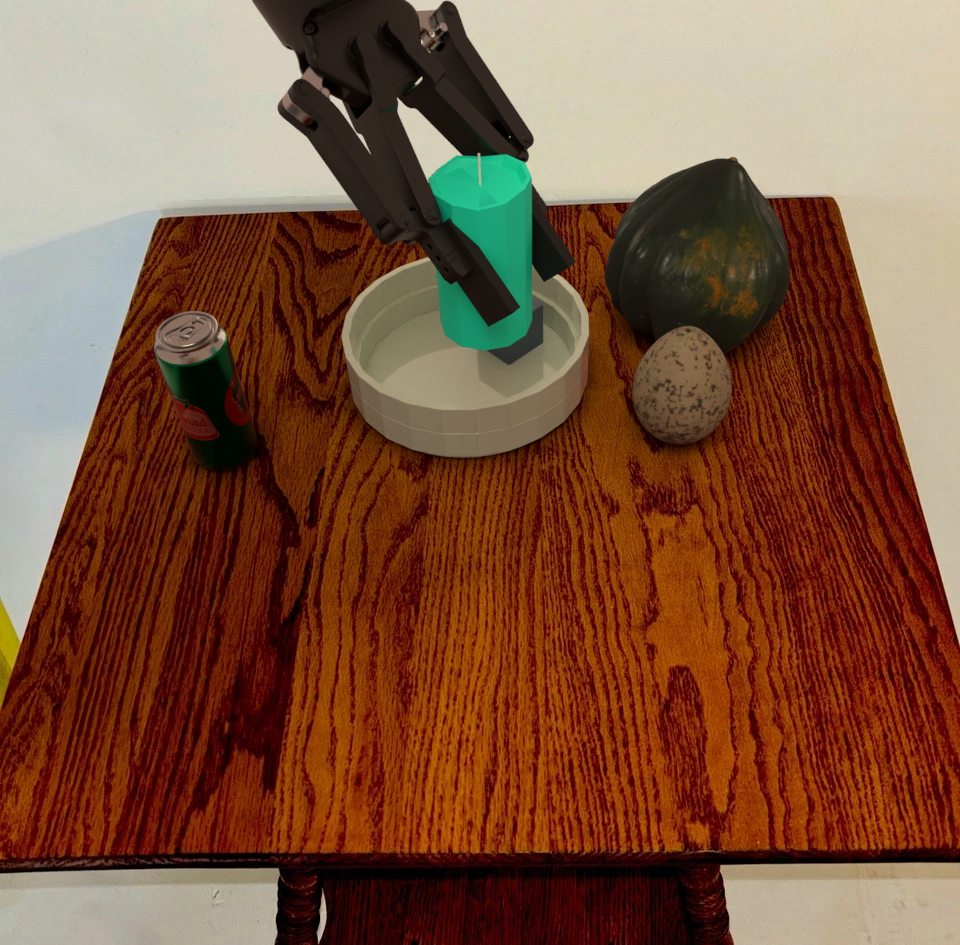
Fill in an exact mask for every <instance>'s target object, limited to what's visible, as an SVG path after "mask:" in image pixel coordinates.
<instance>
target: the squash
mask: <svg viewBox="0 0 960 945" xmlns="http://www.w3.org/2000/svg"><path fill="white" fill-rule="evenodd" d="M603 277H604V282H605V286H606V288H607V290H608V292H609V294H610V299H611V300H610V301H611V304H612V306H613V308H614V309H615V310H616V311H617V312H618V313H619V314H620V315H622V316H623V317H624V318H625V320H626V322H627V323H628V324H629V325H630V326H631V327H632V328H633V329H635V330H637V331H638V332H641V333H642V334H643V333H644V334H653V337H654V340H655V342H656V341H657V340H658V339H659V338H661V337H662V336H664V335H665V334H666V333H668V332H670V331H672V330H674V329H676V328H679V327H682V326H693V327H697V328H699V329H700V330H702V331H704V332H705V333H706V334H708V335H709V336H710V337H711V338H712V339H713V340H714V341H715V343H716V344H717V345H718V346H719V348H720V349H721V351H722V352H723V354H724V355H725V354H727V353H729V352H730V351H733V350H735V349H736V348H737V347H738V346H740V345H741V344H742V343H744V342H745V340H747V339H748V338H749V337H750V336H751V335H752V333H754V332H757V331H759V330H760V329H762V328H764V327H765V326H766V325H768V324H769V323H770V322H771V321H772V320H773V319H774V317H775V316H776V315H777V314H778V312H779V311H780V310H781V308H782V306H783V305H784V302H785V299H786V297H787V294H788V289H789V285H790V277H791V266H790V260H789V248H788V242H787V238H786V236H785V232H784V229H783V227H782V224H781V221H780V219H779V217H778V216H777V214H776V212H775V210H774V209H773V207H772V205H771V204H770V203H769V201H768V199H767V198H766V197H765V196H764V195H763V193H762V192H761V191H760V189H759V188H758V186H757V185H756V183H755V182H754V181H753V179H752V177H751V176H750V175H749V173H748V171H747V170H746V169H745V167H744V166H743V165H742V164H741V163H740V162H739V159H738V158H737V157H735V156H731V157H729V158H726V157H725V158H723V157H722V158H713V159H710V160H709V159H708V160H706V161H703V162H700V163H698V164H695V165H692V166H689V167H687V168H684V169H682V170H679V171H675V172H674V173H671V174H670V175H667V176H666V177H663V178H662V179H661V180H659V181H658V182H656V183H654V184H652V185H651V186H649V187H648V188H647V189H646V190H644V191H643V192H642V193H641V194H640V195H639V196H638V197H636V199H634V201H632V203H631V204H630V205H629V206H628V207H627V209H626V210H625V211H624V213H623V214H622V216H621V217H620V220H619V222H618V224H617V227H616V230H615V233H614V240H613V242H612V243H611V246H610V249H609V252H608V256H607V260H606V265H605V269H604V276H603Z"/></svg>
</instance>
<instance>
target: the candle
mask: <svg viewBox="0 0 960 945" xmlns="http://www.w3.org/2000/svg"><path fill="white" fill-rule="evenodd" d="M427 181H428V183H429V185H430V188H431V190H432V192H433V195H434V197H435V199H436V201H437V204H438V206H439V208H440V211H441V213H442V223H444V222H445V221H446V220H447V219H449V218H450V219H451V220H452V222H453V223H454V224H455V225H456V226H457V227H458V228H459V229H460V230H461V231H462V232H464V233H465V234H466V235H467V236H468V237H469V238H470V239H471V240H472V241H473V242H475V243H476V244H477V245H478V246H479V247H480V249H481V250H482V252H483V253H484V255H485V256H486V258H487V259H488V261H489V262H490V263H491V265H492V266H493V268H494V269H495V271H496V272H497V274H498V275H499V277H500V278H501V279H502V281H503V282H504V284H505V285H506V287H507V288H508V290H509V291H510V293H511V294H512V295H513V297H514V298H515V300H516V301H517V303H518V304H519V306H520V308H519V309H518V310H516V311H515V312H514V313H513V314H511V315H509V316H507V317H506V318H504V319H502V320H500V321H498V322H497V323H495V324H493V325H491V326H489V327H488V326H487V324H486V323H485V321H484V320H483V319H482V317H481V316H480V314H479V313H478V311H477V310H476V309H475V307H474V306H473V304H472V303H471V301H470V300H469V299H468V297H467V296H466V294H465V293H464V291H463V290H462V288H461V287H460V286H459V284H458V283H457V281H456V282H454V283H453V284H449V283H448V282H447V281H445V280H444V279H443V277H442V276H441V275H440V273H439V271H438V270H437V269H436V276H437V288H438V300H439V311H440V322H441V325H442V328H443V331H444V334H445V336H446V337H448V338H449V339H451V340H452V341H454V342H455V343H457V344H458V345H460V346H461V347H466V348H472V349H478V350H484V351H486V350H491V349H496V348H502V347H507V346H510V345H511V344H513V343H514V342H516V341H518V340H519V339H521V338H522V337H524V336H525V335H526V334H527V331H528V329H529V327H530V324H531V322H532V184H533V176H532V174H531V172H530V170H529V168H528V166H527V163H525V162H523V161H520V160H518V159H516V158H514V157H511V156H509V155H507V154H504V155H493V156H480V153H478V156H462V155H458V154H457V155H455V156H453V157H451V159H449V160H448V161H447V162H445V163H444V164H442V165H440V167H438V168H437V169H436V170H435V171H434V172H433V173H432V174H431V175H430V176H429V177H428V178H427Z"/></svg>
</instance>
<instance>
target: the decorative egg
mask: <svg viewBox="0 0 960 945" xmlns="http://www.w3.org/2000/svg"><path fill="white" fill-rule="evenodd" d="M632 381H633V382H632V392H631V393H632V395H631V396H632V403H633V407H634V411H635V414H636V417H637V419H638V420H639V422H640V424H641V425H642V427H643V428H644V429H645V431H647V433H649V434H650V435H651V436H652V437H654V438H655V439H657V440H660V441H661V442H664V443H668V444H671V445H688V444H692V443H696V442H697V441H700V440H703V439H705V438H706V437H708V436H709V435H711V433H713V432H714V431H715V430H716V429H717V428H718V426H720V424H721V423H722V421H723V420H724V418H725V416H726V414H727V412H728V410H729V407H730V403H731V398H732V392H733V381H732V374H731V370H730V366H729V364H728V361H727V358H726V356H725V354H723V352H722V351H721V349H720V348H719V346H718V345H717V344H716V343H715V341H714V340H713V339H712V338H711V337H710V336H709V335H708V334H706V333H705V332H704V331H702V330H700V329H699V328H697V327H693V326H682V327H679V328H676V329H674V330H672V331H670V332H668V333H666V334H665V335H664V336H662V337H661V338H659V339H658V340H657V341H656V340H655V342H654V343H653V344H652V345H651V346H650V347H649V348H648V350H646V351H645V354H644V355H643V357H642V358H641V359H640V361H639V363H638V365H637V368H636V371H635V373H634V376H633V380H632Z"/></svg>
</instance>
